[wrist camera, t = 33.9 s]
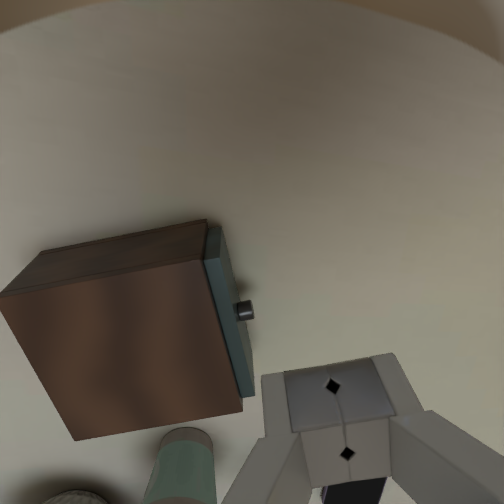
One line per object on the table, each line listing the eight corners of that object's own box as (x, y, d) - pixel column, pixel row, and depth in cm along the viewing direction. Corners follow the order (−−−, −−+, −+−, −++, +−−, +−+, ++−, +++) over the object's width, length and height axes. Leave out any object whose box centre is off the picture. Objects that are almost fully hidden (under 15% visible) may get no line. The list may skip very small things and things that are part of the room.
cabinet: (206, 218, 34) (199, 258, 27) (241, 351, 40) (243, 411, 33) (41, 251, 34) (-7, 298, 27) (101, 377, 40) (74, 441, 34)
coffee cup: (150, 415, 43) (123, 534, 32) (229, 421, 44) (227, 538, 33) (147, 467, 47) (121, 590, 36) (219, 472, 48) (215, 592, 37)
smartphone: (406, 421, 44) (377, 509, 50) (402, 414, 45) (374, 500, 51) (342, 420, 44) (320, 509, 50) (340, 412, 45) (319, 500, 51)
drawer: (235, 223, 33) (236, 254, 28) (264, 348, 39) (269, 393, 33) (65, 256, 33) (34, 293, 28) (118, 375, 39) (101, 423, 34)
